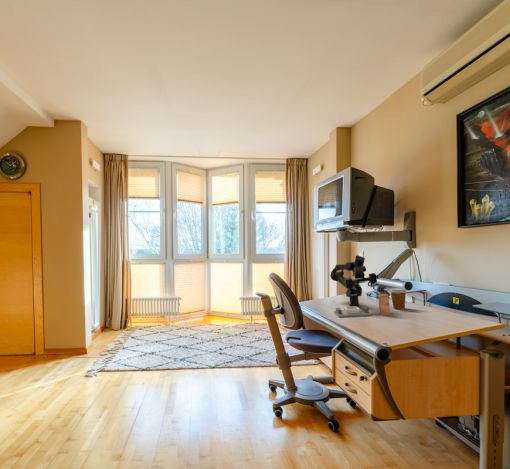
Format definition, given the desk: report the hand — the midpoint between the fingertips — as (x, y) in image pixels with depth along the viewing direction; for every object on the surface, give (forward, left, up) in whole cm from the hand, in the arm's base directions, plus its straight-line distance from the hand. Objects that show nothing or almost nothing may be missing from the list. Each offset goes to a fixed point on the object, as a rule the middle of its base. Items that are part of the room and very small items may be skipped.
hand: (364, 288), depth 212 cm
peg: (+7, +10, -14) cm, 19 cm away
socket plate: (+6, -8, -14) cm, 17 cm away
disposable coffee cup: (-10, +20, -14) cm, 27 cm away
